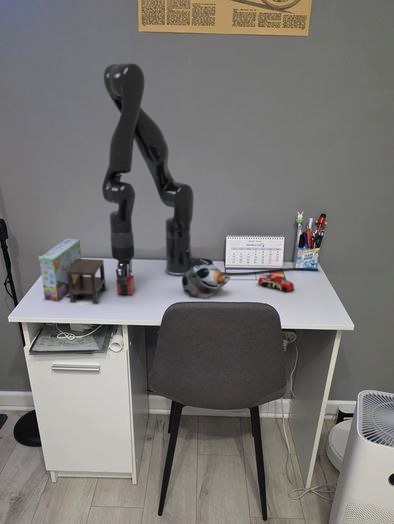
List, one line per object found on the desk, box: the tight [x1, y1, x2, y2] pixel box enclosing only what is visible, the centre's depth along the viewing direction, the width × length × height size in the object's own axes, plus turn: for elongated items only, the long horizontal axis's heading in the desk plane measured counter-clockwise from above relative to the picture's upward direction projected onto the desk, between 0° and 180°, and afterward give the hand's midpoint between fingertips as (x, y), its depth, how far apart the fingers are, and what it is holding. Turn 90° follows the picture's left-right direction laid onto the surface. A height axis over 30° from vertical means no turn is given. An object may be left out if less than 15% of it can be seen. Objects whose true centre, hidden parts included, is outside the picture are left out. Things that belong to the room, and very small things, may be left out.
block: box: [115, 274, 135, 295], centre depth 171 cm, size 5×5×5 cm
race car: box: [257, 274, 295, 293], centre depth 177 cm, size 13×5×4 cm, turn 57°
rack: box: [67, 258, 107, 304], centre depth 167 cm, size 9×12×11 cm
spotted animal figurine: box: [181, 263, 231, 299], centre depth 169 cm, size 15×12×14 cm
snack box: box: [39, 238, 82, 302], centre depth 171 cm, size 21×6×15 cm, turn 168°
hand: (125, 289), depth 172 cm, fingers closed on block, 5 cm apart
